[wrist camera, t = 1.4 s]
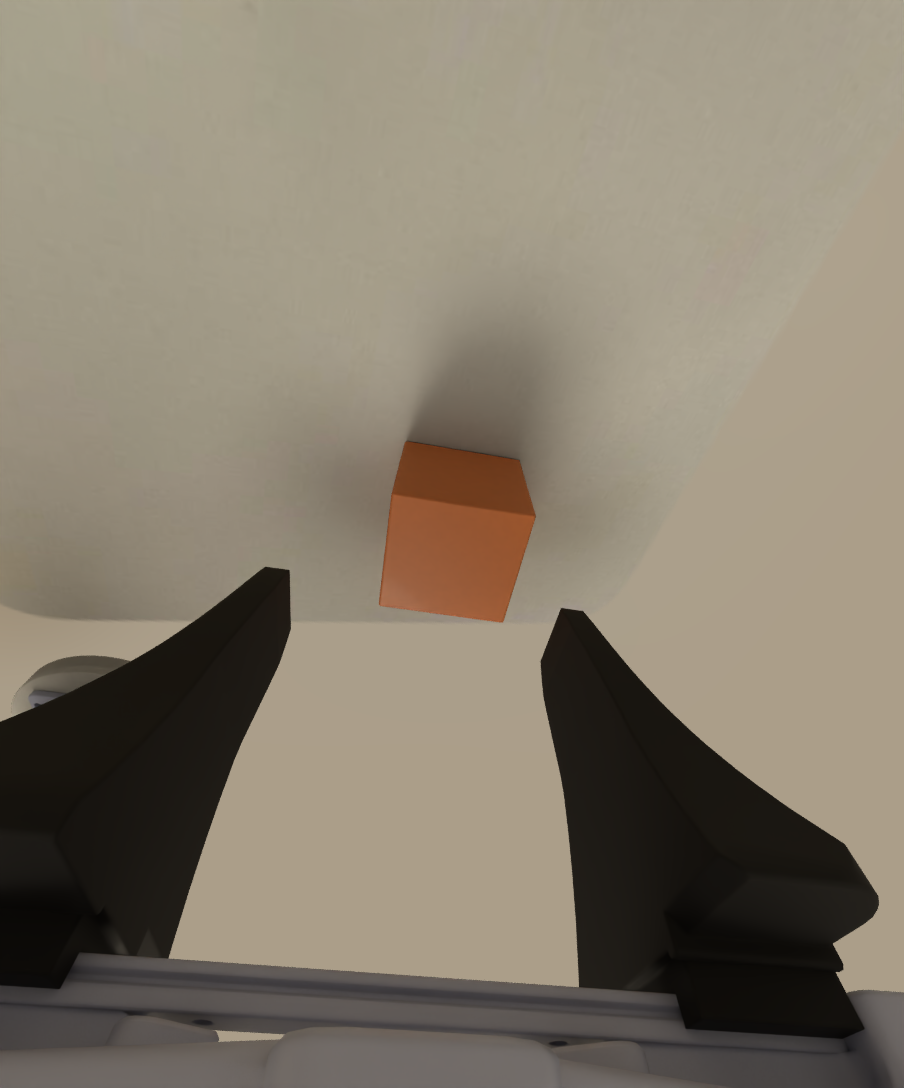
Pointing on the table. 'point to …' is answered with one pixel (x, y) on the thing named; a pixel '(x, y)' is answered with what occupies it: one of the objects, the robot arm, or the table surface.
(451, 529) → the block
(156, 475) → the table surface
